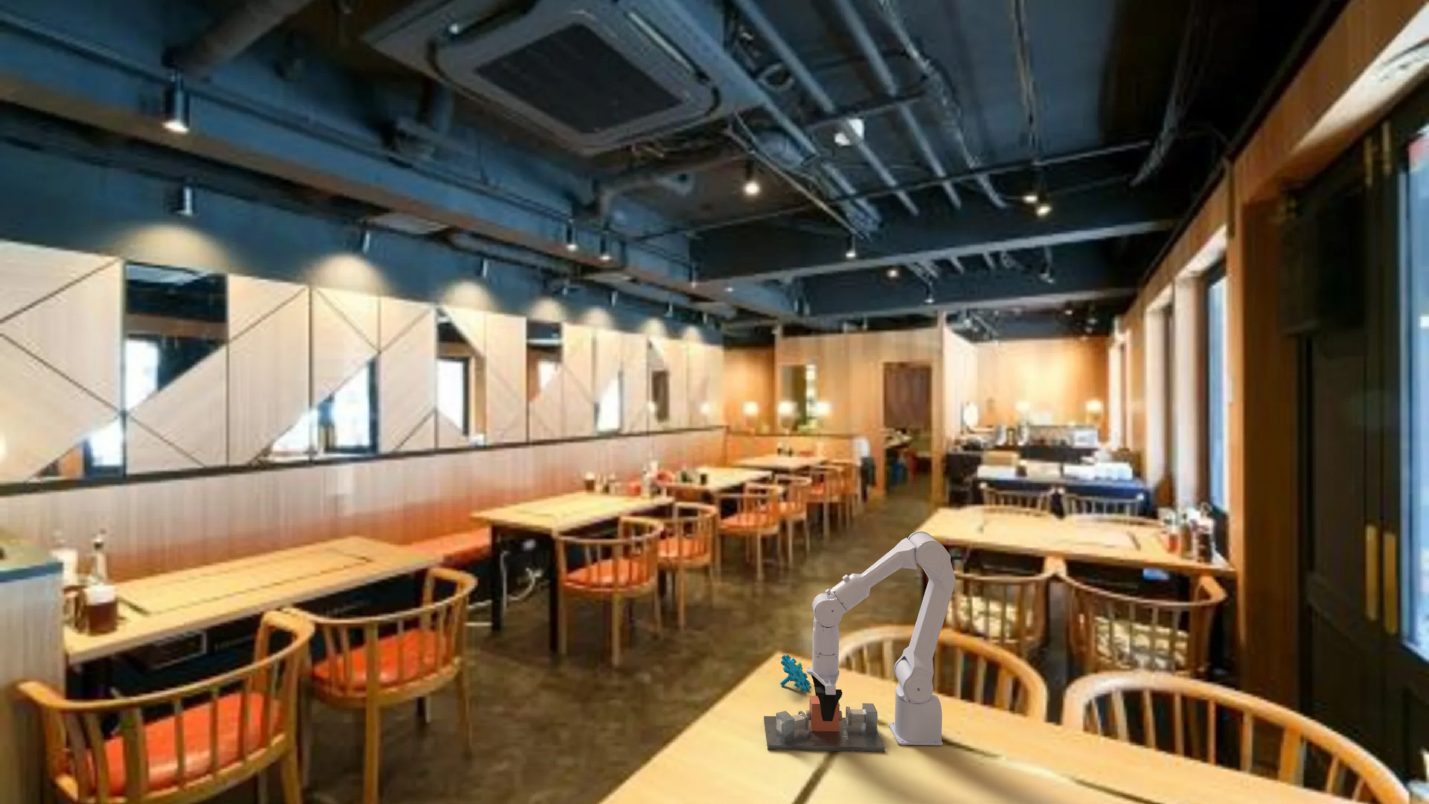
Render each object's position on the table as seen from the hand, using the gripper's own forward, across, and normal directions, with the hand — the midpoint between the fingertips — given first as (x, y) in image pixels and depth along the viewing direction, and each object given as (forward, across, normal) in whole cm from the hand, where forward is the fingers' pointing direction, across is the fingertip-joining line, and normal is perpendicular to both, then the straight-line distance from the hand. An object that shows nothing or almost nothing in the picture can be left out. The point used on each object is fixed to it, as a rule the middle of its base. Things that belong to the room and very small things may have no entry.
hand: (824, 711), depth 138 cm
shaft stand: (+5, +2, -1) cm, 5 cm away
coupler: (+3, 0, 0) cm, 3 cm away
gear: (+5, -20, -4) cm, 21 cm away
